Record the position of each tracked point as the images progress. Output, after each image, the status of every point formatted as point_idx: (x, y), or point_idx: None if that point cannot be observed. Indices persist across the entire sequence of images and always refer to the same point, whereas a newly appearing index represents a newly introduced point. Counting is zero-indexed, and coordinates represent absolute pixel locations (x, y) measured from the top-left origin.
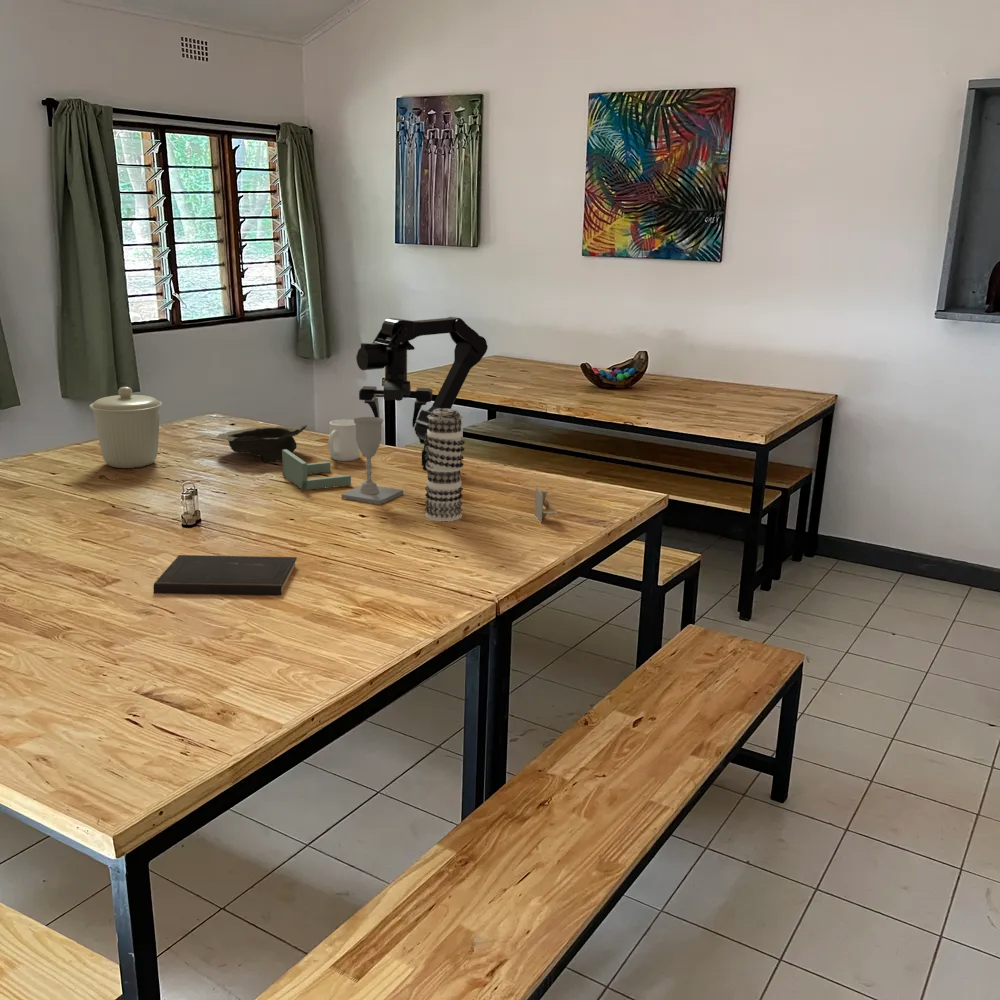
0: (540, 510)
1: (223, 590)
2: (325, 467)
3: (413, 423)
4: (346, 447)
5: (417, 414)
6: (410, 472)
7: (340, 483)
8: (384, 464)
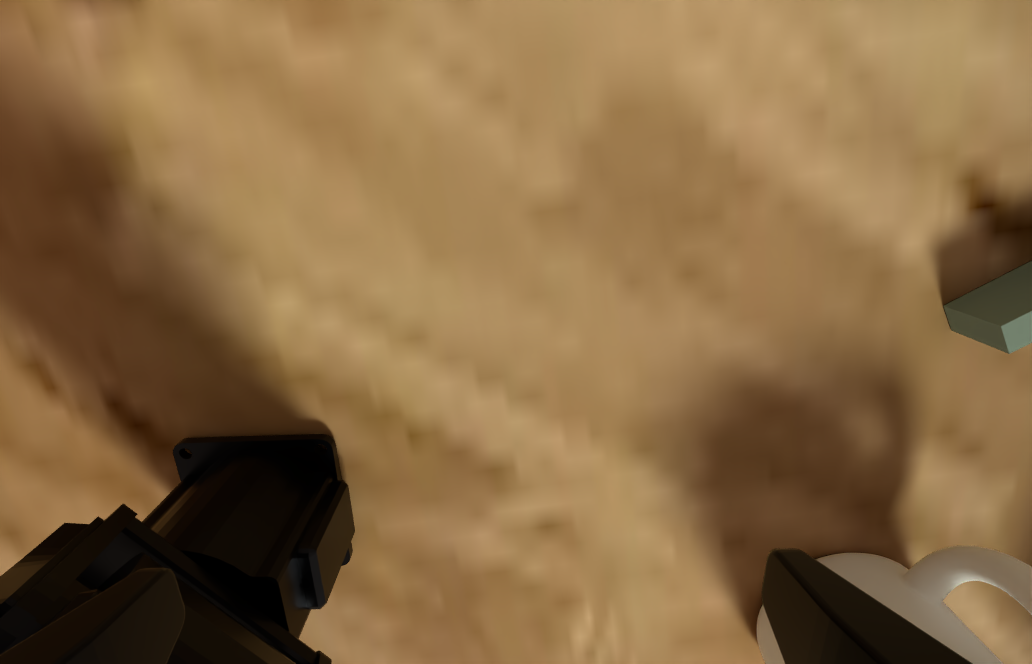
0: None
1: None
2: (1009, 297)
3: (95, 610)
4: None
5: None
6: (403, 365)
7: None
8: (596, 520)
